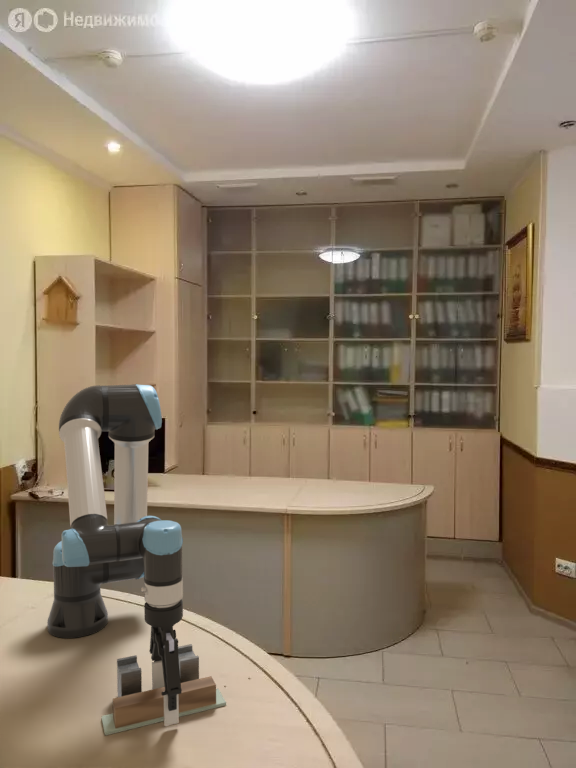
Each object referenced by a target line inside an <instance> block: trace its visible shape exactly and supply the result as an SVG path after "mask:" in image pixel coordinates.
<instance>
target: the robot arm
mask: <svg viewBox="0 0 576 768" xmlns="http://www.w3.org/2000/svg"><path fill="white" fill-rule="evenodd" d="M160 403H161V402H160V399H159V396H158V392H157V390H156V389H155V387H153V386H152V385H150V384H137V383H135V384H133V383H132V384H115V385H114V384H113V385H112V384H111V385H101V384H100V385H99V384H98V385H92V386H87V387H85V388H83V389H81V390H80V391H77V392H76V394H74V395H73V396H72V397H71V398H70V399H69V400H68V402H67V403H66V405H64V408H63V410H62V412H61V414H60V417H59V421H58V435H59V438H60V440H61V442H63V443H64V453H65V455H64V457H65V458H64V459H65V468H66V469H65V470H66V482H67V483H66V485H67V497H68V511H69V512H68V513H69V524H70V528H69V529H65V530H63V531H62V533H61V541H58V543H57V544H56V545H55V546H54V548H53V553H52V554H53V558H52V566H53V601H52V605H51V608H50V611H49V614H48V617H47V622H46V623H47V632H48V633H49V634H50V635H51V636H54V637H56V638H62V639H63V638H64V639H73V638H74V639H75V638H81V637H82V638H83V637H86V636H89V635H92V634H95V633H97V632H99V631H101V630H102V629H104V628H105V627H106V626H107V624H108V621H109V618H108V617H109V616H108V613H109V612H108V610H107V607H106V604H105V601H104V599H103V596H102V594H101V585H102V584H111V583H117V582H122V581H129V580H139V579H142V578H143V581H144V583H143V584H144V586H142V587H141V588H140V589H141V592H142V593H144V605H143V606H144V608H143V609H144V622H145V623H146V624H147V625H149V626H150V639H149V640H150V642H149V649H148V650H149V655H150V656H151V657H150V659H151V680H152V681H151V682H152V683H151V685H152V687H151V688H152V689H157V688H161V687H165V691H164V692H161V694H162V696H163V695H164V721H163V726H164V727H167V726H172V725H175V724H180V720H179V718H180V717H179V696H178V694H181V691H182V689H181V681H180V669H179V657H178V647H179V640H178V638H177V632H176V629H174V626H175V625H176V624H178V623H180V622H181V620H183V617H184V603H183V601H184V600H183V597H184V585H183V584H184V581H183V580H184V578H183V577H184V576H183V544H184V539H183V535H182V534H183V532H182V526H181V524H180V523H179V522H177V521H173V520H170V519H169V520H166V519H165V520H164V519H163V520H162V519H161V518H160V517H158V516H155V515H148V489H149V488H148V487H149V486H148V483H149V482H148V481H149V478H148V477H149V442H151V440H153V439H154V438H155V433H156V432H155V430H158V429H161V428H162V423H163V420H162V419H163V418H162V411H161V410H162V408H161V404H160ZM103 432H108V438H109V440H111V441H112V442H113V443H114V482H113V483H114V495H113V496H114V504H113V505H114V511H113V512H114V513H113V516H114V517H113V518H114V519H113V524H109V522H108V521H109V520H108V514H107V503H106V495H105V487H104V480H103V470H102V462H101V455H100V447H99V446H100V445H99V444H100V443H99V438H100V437H101V435H102V433H103ZM152 689H151V690H152Z"/></svg>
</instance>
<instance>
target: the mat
mask: <svg viewBox="0 0 576 768" xmlns="http://www.w3.org/2000/svg"><path fill="white" fill-rule="evenodd" d="M225 706H227V701H226V699H225V698H224V696H223V694H222V692H221V691H220V689H219V688H216V704H212V705H208V706H204V707H200V708H196V709H192V710H188V711H184V712H180V713H179V718H180V717H185V716H188V715H192V714H197V713H200V712H204V711H207V710H208V711H209V710H212V709H216V708H220V707H225ZM161 722H164V717H160V718H156V719H152V720H148V721H144V722H140V723H136V724H132V725H128V726H124V727H120V728H115V724H114V720H113V713H109V714H105V715H101V723H102V727H103V732H104V736H108V735H112V734H116V733H120V732H124V731H128V730H133V729H136V728H140V727H143V726H144V727H145V726H149V725H153V724H156V723H161Z"/></svg>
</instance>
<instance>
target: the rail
mask: <svg viewBox="0 0 576 768" xmlns="http://www.w3.org/2000/svg"><path fill="white" fill-rule="evenodd" d="M181 689H182V691H181V694H178V696H179V713H180V712H184V711H188V710H192V709H196V708H200V707H204V706H208V705H212V704H216V689H217V684H216V682H215V681H214V678H213V677H212V675H211V676H210V675H209V676H205V677H201V678H199V679H196V680H192V681H187V682H183V683H181ZM164 691H165V687H161V688H157V689H149V690H145V691H142V692H139V693H135V694H130V695H126V696H122V697H118V696H116V697H115V698H112V714H113V720H114V724H115V728H120V727H124V726H128V725H132V724H136V723H140V722H144V721H148V720H152V719H156V718H160V717H164V695H163V696H162V694H161V692H164Z"/></svg>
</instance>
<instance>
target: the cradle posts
mask: <svg viewBox="0 0 576 768" xmlns="http://www.w3.org/2000/svg"><path fill="white" fill-rule="evenodd" d="M178 657H179V669H180V681H181V683H183V682H187V681H192V680H196V679H200V671H199V670H200V656H199V655H196V654H195V652H194V649H193V644H192V643H190V644H189V643H188V644H184V645H180V646H179V645H178ZM116 674H117V680H116V681H117V682H116V683H117V697H122V696H126V695H130V694H135V693H139V692H143V690H142V689H143V688H142V686H143V685H142V682H143V681H142V668H141V667H140V665H139V663H138V656H137V655H135V654H134V655H132V656H131V655H130V656H125V657H120V658H116Z"/></svg>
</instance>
